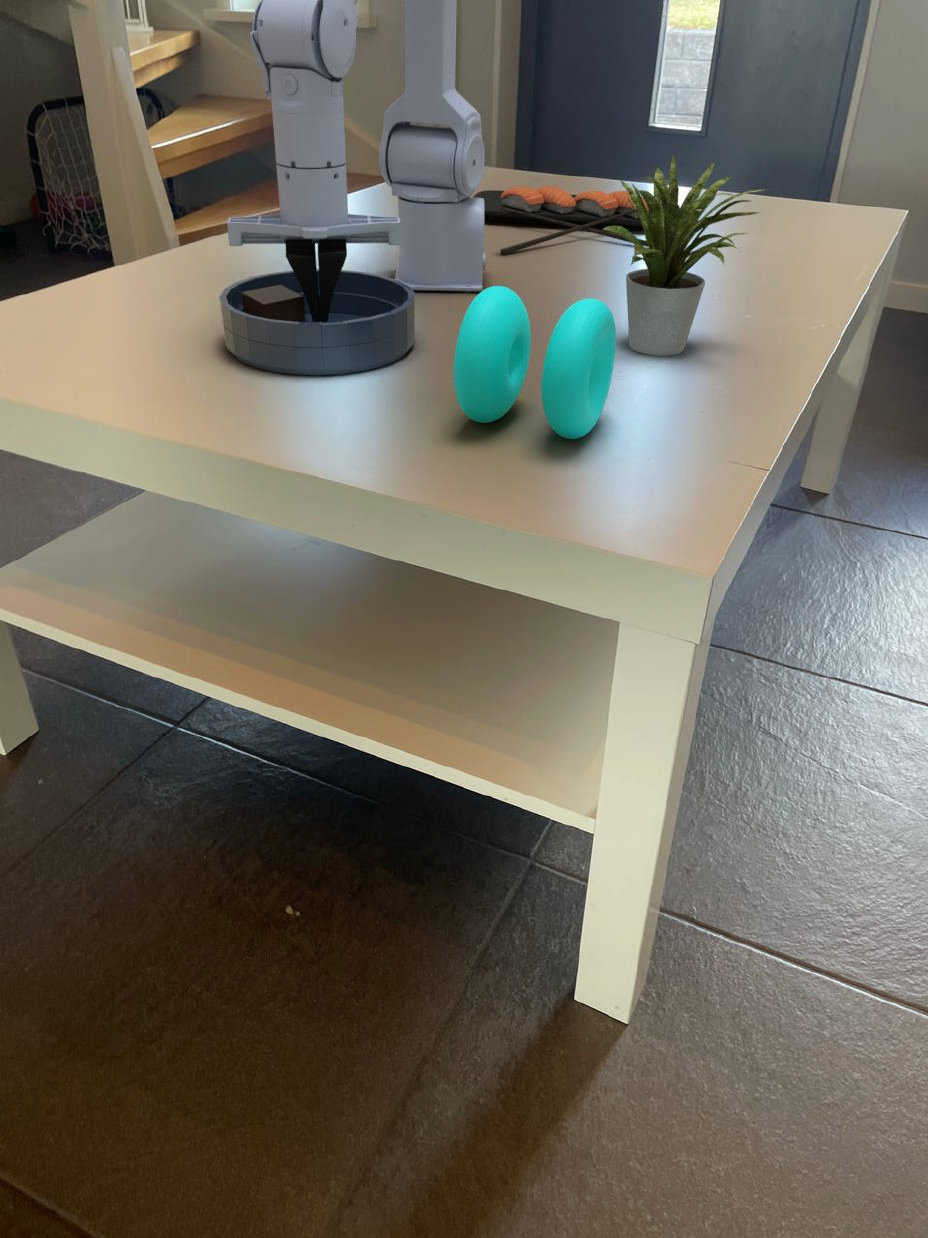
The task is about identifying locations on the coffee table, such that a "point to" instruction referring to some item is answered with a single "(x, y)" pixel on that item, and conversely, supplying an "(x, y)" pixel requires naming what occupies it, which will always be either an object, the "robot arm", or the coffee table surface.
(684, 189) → the coffee table surface
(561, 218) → the sushi plate
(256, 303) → the block
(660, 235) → the house plant
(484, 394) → the donuts
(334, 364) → the bowl
